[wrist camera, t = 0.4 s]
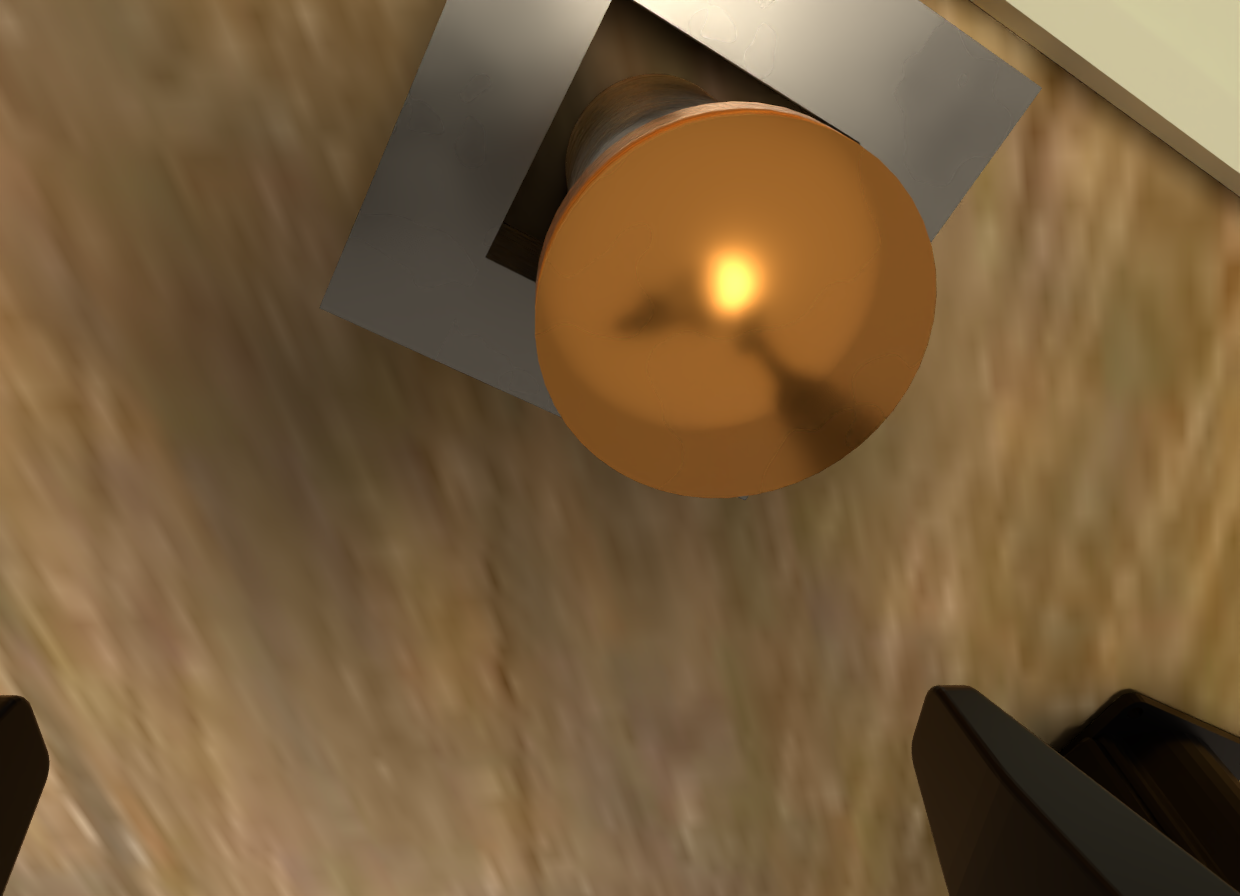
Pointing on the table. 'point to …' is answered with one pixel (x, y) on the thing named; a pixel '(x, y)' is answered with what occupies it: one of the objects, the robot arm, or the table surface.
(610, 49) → the table surface
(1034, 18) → the tray
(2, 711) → the robot arm
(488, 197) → the block
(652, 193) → the light grey cylindrical piece
